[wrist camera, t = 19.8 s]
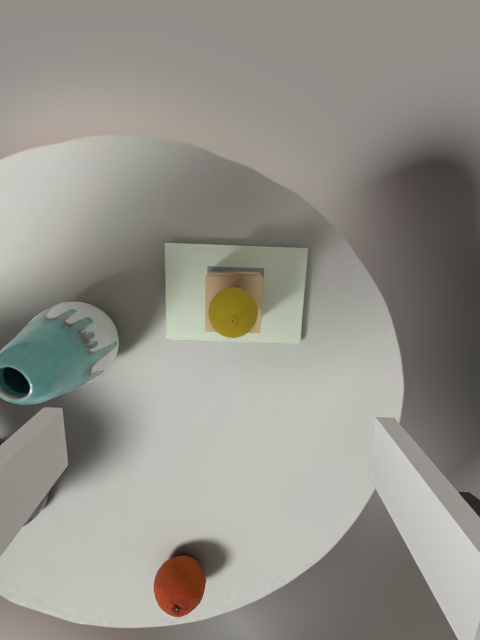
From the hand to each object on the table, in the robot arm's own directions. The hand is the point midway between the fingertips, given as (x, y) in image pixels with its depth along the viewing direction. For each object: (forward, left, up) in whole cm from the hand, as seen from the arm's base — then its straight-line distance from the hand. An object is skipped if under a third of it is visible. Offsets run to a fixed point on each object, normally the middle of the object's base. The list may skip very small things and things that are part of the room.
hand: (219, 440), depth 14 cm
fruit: (-8, -51, -36) cm, 63 cm away
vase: (-22, -7, -36) cm, 43 cm away
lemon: (0, 0, -28) cm, 28 cm away
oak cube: (0, 0, -35) cm, 35 cm away
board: (0, 0, -36) cm, 36 cm away
